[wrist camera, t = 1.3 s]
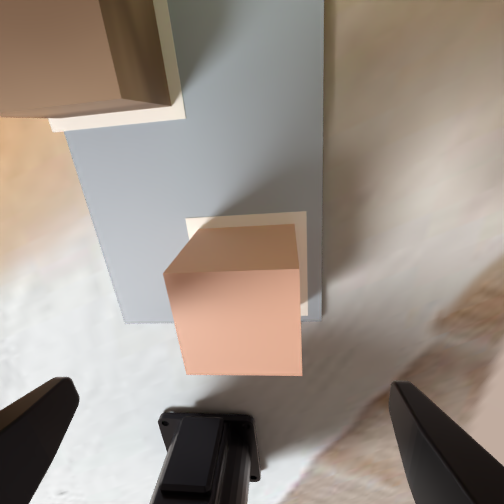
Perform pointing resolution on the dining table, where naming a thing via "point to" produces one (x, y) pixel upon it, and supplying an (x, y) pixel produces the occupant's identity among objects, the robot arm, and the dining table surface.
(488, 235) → the dining table surface
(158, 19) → the board
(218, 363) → the terracotta block
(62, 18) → the block
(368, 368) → the dining table surface
